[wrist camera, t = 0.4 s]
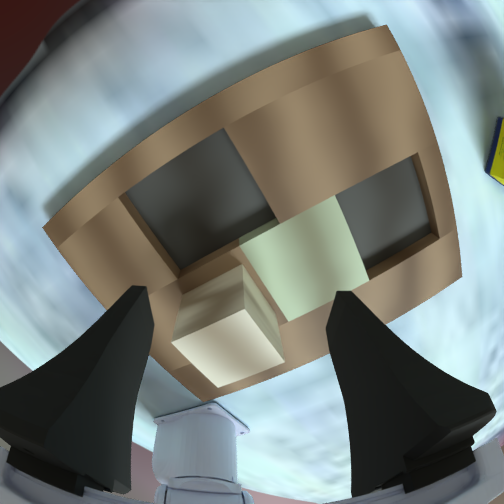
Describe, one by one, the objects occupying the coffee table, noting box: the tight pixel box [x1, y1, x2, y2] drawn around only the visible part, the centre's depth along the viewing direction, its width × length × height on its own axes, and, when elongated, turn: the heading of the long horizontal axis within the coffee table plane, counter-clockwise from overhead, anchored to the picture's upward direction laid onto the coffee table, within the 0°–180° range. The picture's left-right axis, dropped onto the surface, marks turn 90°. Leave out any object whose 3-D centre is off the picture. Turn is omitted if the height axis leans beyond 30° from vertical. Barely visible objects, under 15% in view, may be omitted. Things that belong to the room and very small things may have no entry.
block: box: [171, 264, 285, 388], centre depth 19 cm, size 5×5×5 cm
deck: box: [42, 25, 462, 402], centre depth 20 cm, size 28×22×2 cm
